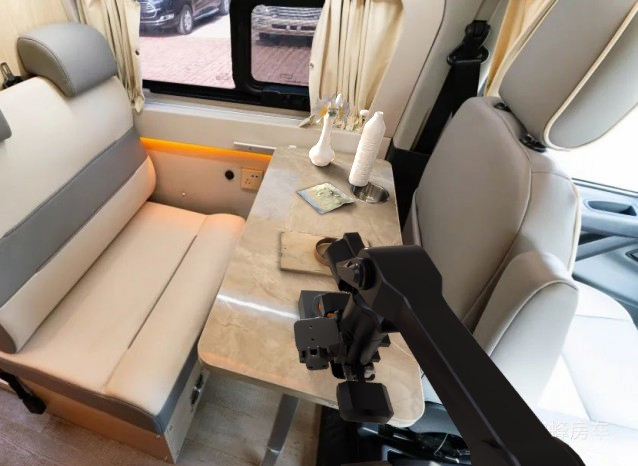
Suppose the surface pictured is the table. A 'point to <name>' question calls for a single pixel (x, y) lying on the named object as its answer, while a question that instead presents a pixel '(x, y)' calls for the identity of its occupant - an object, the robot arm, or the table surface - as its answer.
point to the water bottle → (367, 149)
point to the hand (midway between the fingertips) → (338, 375)
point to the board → (306, 252)
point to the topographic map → (325, 197)
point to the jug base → (310, 304)
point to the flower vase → (327, 126)
